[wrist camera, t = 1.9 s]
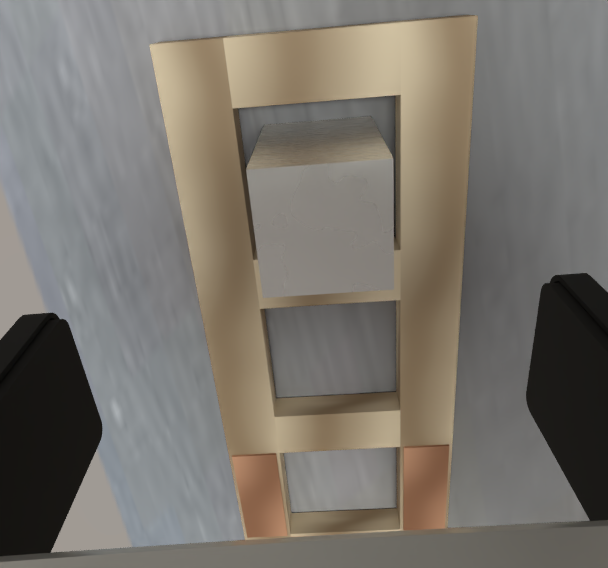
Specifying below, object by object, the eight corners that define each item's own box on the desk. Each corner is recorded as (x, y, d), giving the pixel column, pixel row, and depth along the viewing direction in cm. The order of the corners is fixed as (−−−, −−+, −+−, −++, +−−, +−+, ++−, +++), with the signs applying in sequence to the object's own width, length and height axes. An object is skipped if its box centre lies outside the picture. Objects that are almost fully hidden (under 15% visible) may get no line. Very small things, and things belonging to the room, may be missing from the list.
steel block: (371, 116, 23) (393, 158, 16) (373, 217, 25) (393, 289, 18) (264, 124, 23) (245, 169, 17) (275, 224, 25) (262, 297, 19)
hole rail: (467, 15, 21) (478, 15, 19) (440, 533, 34) (446, 557, 33) (159, 42, 21) (148, 44, 20) (252, 541, 35) (249, 564, 33)
